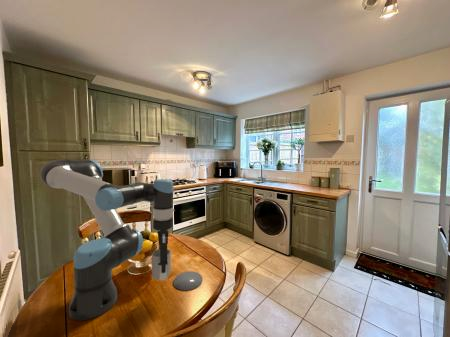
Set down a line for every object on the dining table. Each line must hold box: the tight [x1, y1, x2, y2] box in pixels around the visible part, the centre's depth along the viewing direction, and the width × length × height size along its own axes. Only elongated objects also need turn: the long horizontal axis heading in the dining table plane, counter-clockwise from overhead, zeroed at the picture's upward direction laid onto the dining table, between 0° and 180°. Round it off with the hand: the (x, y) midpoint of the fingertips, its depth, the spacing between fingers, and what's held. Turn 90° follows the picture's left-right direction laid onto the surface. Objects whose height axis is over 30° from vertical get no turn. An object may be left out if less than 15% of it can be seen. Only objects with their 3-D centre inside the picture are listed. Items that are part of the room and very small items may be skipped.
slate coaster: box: [173, 270, 203, 291], centre depth 87 cm, size 13×13×1 cm
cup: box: [151, 248, 172, 281], centre depth 77 cm, size 7×10×9 cm
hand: (162, 271), depth 77 cm, fingers closed on cup, 10 cm apart
